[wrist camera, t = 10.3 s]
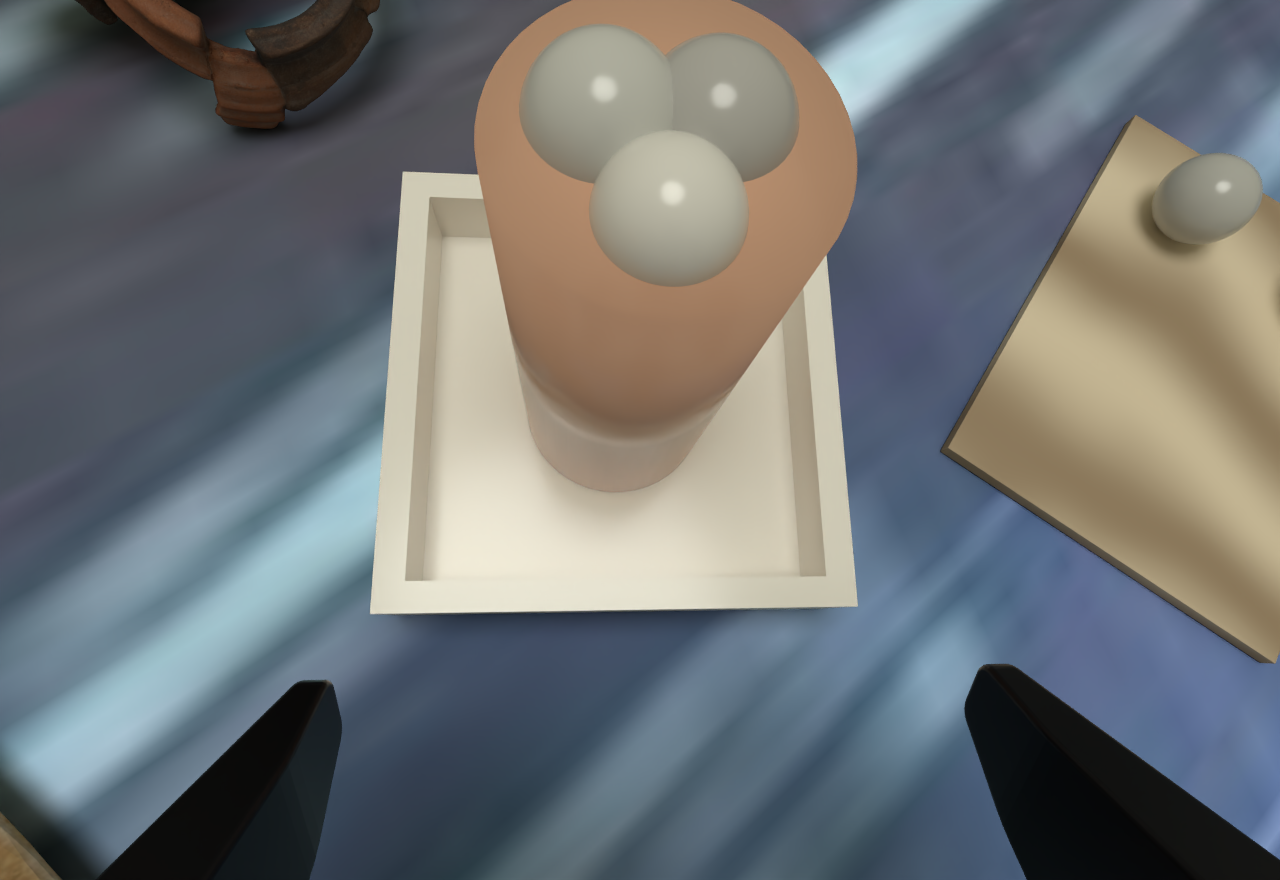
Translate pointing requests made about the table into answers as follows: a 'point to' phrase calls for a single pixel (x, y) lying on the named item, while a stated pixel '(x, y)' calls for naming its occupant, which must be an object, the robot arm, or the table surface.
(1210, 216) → the grey pebble
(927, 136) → the table surface
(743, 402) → the cream dish
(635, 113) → the terracotta jar
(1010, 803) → the robot arm
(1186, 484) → the beech board
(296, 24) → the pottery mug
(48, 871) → the brown flared stand
